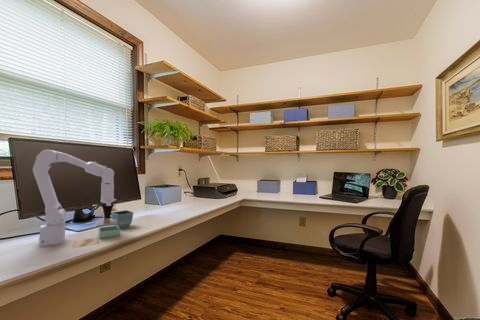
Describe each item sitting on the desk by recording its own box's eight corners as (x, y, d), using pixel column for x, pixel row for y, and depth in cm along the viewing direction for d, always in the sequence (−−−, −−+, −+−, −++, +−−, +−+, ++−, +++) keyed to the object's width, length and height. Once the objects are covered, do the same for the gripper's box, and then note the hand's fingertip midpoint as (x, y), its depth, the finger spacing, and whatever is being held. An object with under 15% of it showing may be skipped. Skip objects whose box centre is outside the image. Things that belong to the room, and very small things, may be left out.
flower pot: (126, 224, 139) (127, 209, 139) (133, 227, 133) (133, 212, 133) (111, 227, 132) (111, 212, 132) (117, 230, 126) (118, 214, 126)
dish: (99, 239, 113) (99, 232, 113) (98, 234, 120) (98, 227, 120) (119, 236, 118) (119, 229, 118) (117, 231, 125) (117, 225, 125)
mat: (72, 248, 101) (72, 247, 101) (73, 241, 109) (73, 241, 109) (99, 244, 106) (99, 243, 106) (97, 237, 114) (97, 237, 114)
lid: (96, 226, 111) (97, 215, 111) (95, 222, 119) (96, 211, 119) (117, 224, 117) (117, 213, 117) (115, 220, 124) (115, 210, 124)
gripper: (117, 192, 114) (117, 219, 114) (114, 189, 126) (114, 213, 126) (101, 193, 110) (101, 221, 110) (99, 190, 122) (99, 215, 122)
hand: (107, 217), depth 118 cm, fingers closed on lid, 3 cm apart
